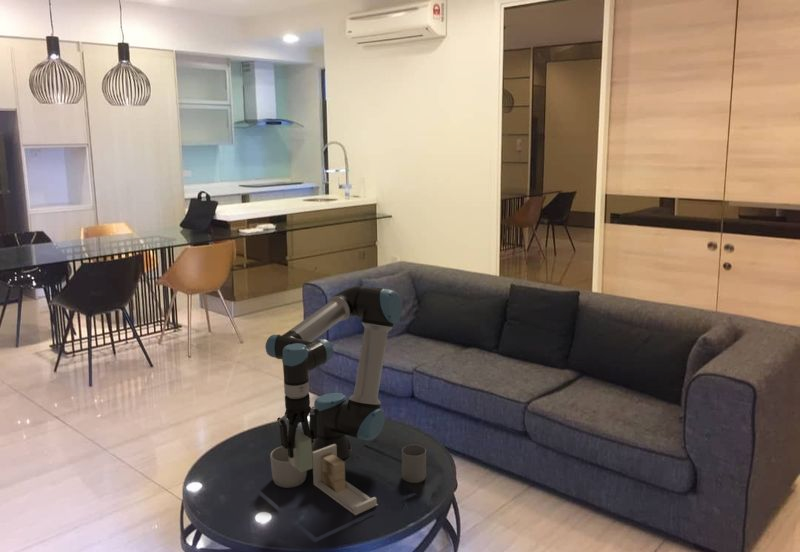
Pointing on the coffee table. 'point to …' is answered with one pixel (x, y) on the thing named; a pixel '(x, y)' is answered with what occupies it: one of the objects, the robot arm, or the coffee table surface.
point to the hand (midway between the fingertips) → (300, 463)
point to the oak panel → (333, 472)
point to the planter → (285, 469)
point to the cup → (413, 463)
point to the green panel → (303, 451)
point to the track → (348, 496)
